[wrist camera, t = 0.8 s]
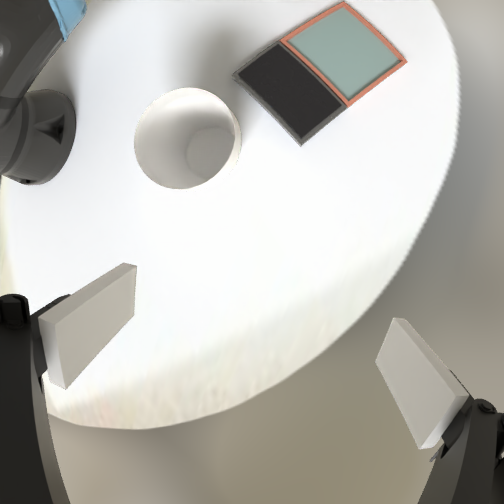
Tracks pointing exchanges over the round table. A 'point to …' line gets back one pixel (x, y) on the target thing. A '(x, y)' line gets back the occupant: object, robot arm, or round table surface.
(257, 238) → the round table surface
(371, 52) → the print frame
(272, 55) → the ink pad
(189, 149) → the cup
